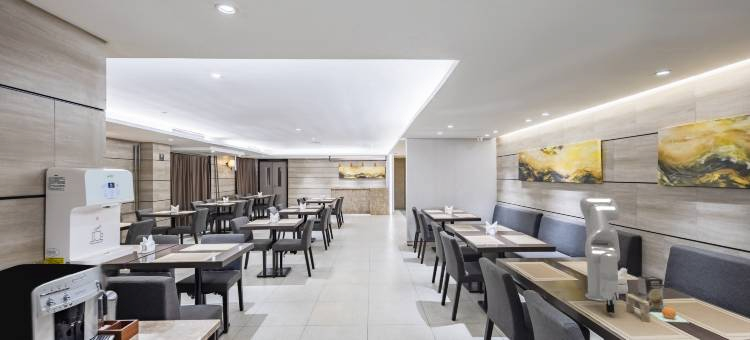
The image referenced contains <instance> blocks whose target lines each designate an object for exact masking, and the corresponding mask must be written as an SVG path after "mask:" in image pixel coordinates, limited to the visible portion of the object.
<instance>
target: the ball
mask: <svg viewBox="0 0 750 340" xmlns="http://www.w3.org/2000/svg"><path fill="white" fill-rule="evenodd" d="M661 313H662V314H663V316H664V317H666V318H668V319H673V318H675V316H676V315H677V313H676V311H675V309H673V308H672V307H670V306H665V307H663V309H661Z"/></svg>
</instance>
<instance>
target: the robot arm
mask: <svg viewBox="0 0 750 340" xmlns="http://www.w3.org/2000/svg"><path fill="white" fill-rule="evenodd" d="M579 201H580V202H579V207H580V211H581V213H582V215H583V219H584V221H585V231H586V232H585V234H586V241H585V244H584V246H585V249H584V254H585V258H586V271H587V293H585V294H584V295H585V298H586V299H588V300H591V301H595V302H605V311H606V312H607V313H608V314H609V313H611V314H614V313H615V305H616V304H617V302H618V301H619V300H620V298H619V296H620V295H619V293H620V292H619V284H618V281H619V270H618V269H619V268H618V262H619V261H620V259H621V252H620V242H619V233H618V231H617V230H616V228H614V227H611V226H610V222H609V221H617V220H619V219H620V218H621V211H620V208H619V206H618V205H617V203H616V201H615V200H614V199H613V198H612V197H593V196H592V197H591V196H589V197H584V198H581V199H580V200H579ZM592 243H596V244H592ZM597 243H599V244H597ZM601 243H602V244H601ZM604 244H605V245H604ZM606 244H607V245H606Z"/></svg>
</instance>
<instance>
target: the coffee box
mask: <svg viewBox="0 0 750 340" xmlns="http://www.w3.org/2000/svg"><path fill="white" fill-rule="evenodd" d="M637 284H638V286H637V288H638V289H637V290H638V291H637V292H638V297H639V298H641V299H643V300H645V301H646V302H648V303H649V310H651V309H652V310H658V309H659V310H660V309H661V310H662V309H663V308H664V287H663V286H664V285H663V279H662V278H661V277H656V276H637ZM638 306H640V303H638Z"/></svg>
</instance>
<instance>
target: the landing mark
mask: <svg viewBox="0 0 750 340" xmlns="http://www.w3.org/2000/svg"><path fill="white" fill-rule="evenodd" d="M649 312H650V311H649ZM650 316H653V317H654V318H656V319H658V320H659V321H661V322H666V323H667V322H669V323H690V321H688V320H687V319H684V318H682V317H681V316H679V315H677V314H676V316H675V318H673V319H668V318H666V317H664V316H663V314H662V312H656V311H651V312H650Z"/></svg>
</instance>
